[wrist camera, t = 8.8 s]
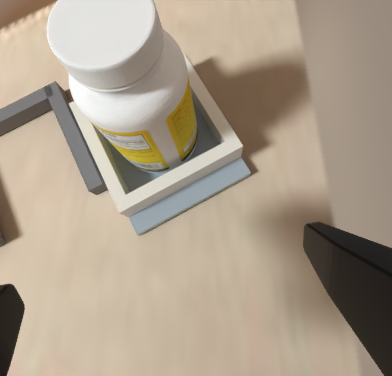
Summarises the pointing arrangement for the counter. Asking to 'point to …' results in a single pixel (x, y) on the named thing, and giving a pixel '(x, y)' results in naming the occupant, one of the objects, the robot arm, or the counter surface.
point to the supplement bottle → (127, 78)
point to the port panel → (177, 178)
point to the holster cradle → (58, 101)
